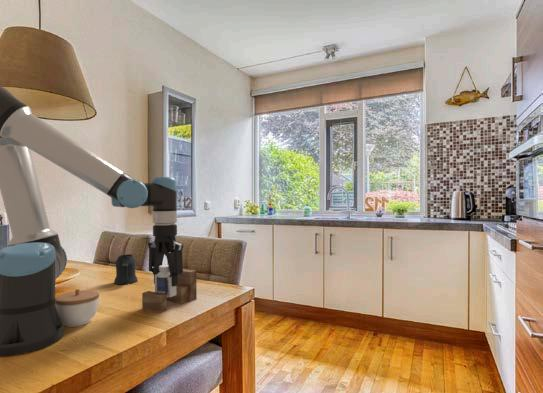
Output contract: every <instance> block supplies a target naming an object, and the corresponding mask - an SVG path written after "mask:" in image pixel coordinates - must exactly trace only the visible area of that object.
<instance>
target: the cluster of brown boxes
mask: <svg viewBox="0 0 543 393" xmlns="http://www.w3.org/2000/svg"><path fill="white" fill-rule="evenodd" d="M197 289H198V288H197V270H196V269H189V268H188V269H187V268H183V273H182V274H179V275H178V284H177V286H176V295H175V296H173V297H167V294H163V293H157V292H155V291H152V290H151V291H150V290H148V291H145V292H142V294H141V295H142V298H141V301H142V304H141V305H142V306H141V308H142V310H147V311H152V312H156V313H159V314H160V313H161V314H162V313H163V312H167V311H168V310H167V309H168V308H167V306H168V302H169V303H173V304H178V305H179V304H180V305H183V304H185V303H187V302H193V301H196V300H197V298H198V297H197V296H198V295H197V291H198V290H197Z"/></svg>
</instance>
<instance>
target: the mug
mask: <svg viewBox="0 0 543 393" xmlns="http://www.w3.org/2000/svg"><path fill="white" fill-rule="evenodd" d="M136 262H137V261H136V259H135V257H134V255H133V254H128V253H127V254H120V255H118V256H117V259H116V260H115V271H116V272H115V274H116V276H115V278H114V280H113V285H115V284H116V285H117V286H129V285H133V284H136V283H138V277H137V275H136V265H137V264H136ZM128 284H129V285H128Z"/></svg>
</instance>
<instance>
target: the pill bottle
mask: <svg viewBox="0 0 543 393" xmlns="http://www.w3.org/2000/svg"><path fill="white" fill-rule="evenodd" d="M159 271H160V272H159V273H158V274H157V293H163V294H167V297H169V288H168V277H169V276H170V271H169V266H168V264H162V265H161V266H159Z"/></svg>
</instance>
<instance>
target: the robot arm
mask: <svg viewBox="0 0 543 393" xmlns="http://www.w3.org/2000/svg"><path fill="white" fill-rule="evenodd" d="M31 151H33V152H34V153H36V154H37V155H39V156H41V157H43V158H44V159H46V160H48V161H49V162H51V163H53V164H54V165H56V166H58V167H59V168H60V169H63V170H64V171H66V172H68V173H70V174H71V175H73V176H75V177H77V178H78V179H80V180H81V181H83V182H85V183H87V184H89V185H90V186H91V187H94V188H95V189H97V190H98V191H100V192H102V193H103V194H105V195H107V196H108V197H110V198H111V199H110V200H111V205H112V207H116V208H125V207H126V208H128V209H136V208H139V207H152V223H153V225H152V236H153V237H154V240H153V241H149V242H147V246H148V272H151V273H152V274H153V283H154V292H157V274H158V273H159V272H160V271H159V266H161V265H163V263H164V262H163V261H164V258H165V257H166V261H167V265H168V266H169V271H170V276H169V277H168V288H169V297H173V296H175V295H176V286H177V284H178V275H179V274H182V273H183V269H184V268H183V267H184V266H183V248H184V244H183V243H179V242H177V240H176V237H177V235H178V225H177V221H178V218H177V216H178V215H177V212H178V209H177V208H178V206H177V205H178V204H177V203H178V202H177V200H178V199H177V198H178V195H177V194H178V190H177V180H176V178H175V177H172V176H171V177H170V176H154V177H153V178H152V180H151V182H146V183H145V182H141V181H140V180H138V179H135V178H134V177H132V176H131V175H129V174H127V173H125V172H124V171H123V170H121V169H119V168H118V167H116V166H115V165H113V164H112V163H111V162H109V161H107V160H106V159H104V158H102V157H101V156H99V155H98V154H96V153H95V152H92V151H91V150H90V149H88V148H87V147H85V146H84V145H82V144H80V143H78V142H77V141H75V140H74V139H72V138H71V137H69V136H68V135H66V134H65V133H63V132H61V131H60V130H58V128H57V129H56V128H55V127H53V126H52V125H50V124H48V123H47V122H45V121H44V120H43V119H41V118H39V117H37V116H36V115H35V114H33V112H32V108H31V107H30V106H29V105H27V104H26V103H24V102H22V101H21V100H20V99H18V98H17V97H15V95H14V94H12V93H11V92H10V91H9V90H8V89H7V88H5V87H3V86H1V85H0V194H1V197H2V201H3V206H4V209H5V214H6V217H7V220H8V225H9V227H10V228H9V229H10V232H11V236H12V237H11V239H10V240H9V241H8V242H7V246H5V247H3V248H1V249H0V357H12V356H18V355H23V354H28V353H31V352H35V351H38V350H41V349H44V348H47V347H49V346H51V345H53V344H55V343H56V342H58V341H59V340H61V339H62V338H63V336H64V324H63V323H62V321H61V318H60V316H59V313H58V311H57V308H56V306H55V298H56V280H57V279H58V278H59V277H60V276H61V275H62V274H63V272H64V271H65V269H66V266H67V262H68V257H67V256H68V255H67V252H66V250H65V249H64V248H63V246H62V244H61V241H60V237H59V233H58V232H57V231H55V230H53V229H51V227H50V223H49V219H48V215H47V212H46V208H45V204H44V199H43V195H42V192H41V187H40V184H39V181H38V180H39V179H38V176H37V172H36V168H35V165H34V160H33V156H32V153H31Z"/></svg>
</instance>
